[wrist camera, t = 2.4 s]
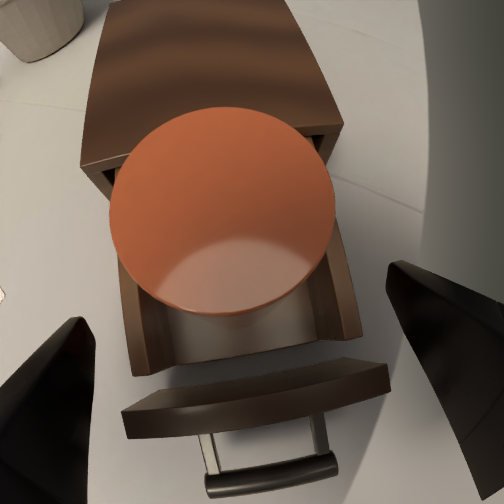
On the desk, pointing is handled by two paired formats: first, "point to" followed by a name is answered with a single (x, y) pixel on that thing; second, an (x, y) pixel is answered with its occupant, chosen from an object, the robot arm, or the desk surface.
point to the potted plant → (38, 26)
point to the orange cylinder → (222, 214)
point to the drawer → (254, 388)
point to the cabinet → (199, 74)
